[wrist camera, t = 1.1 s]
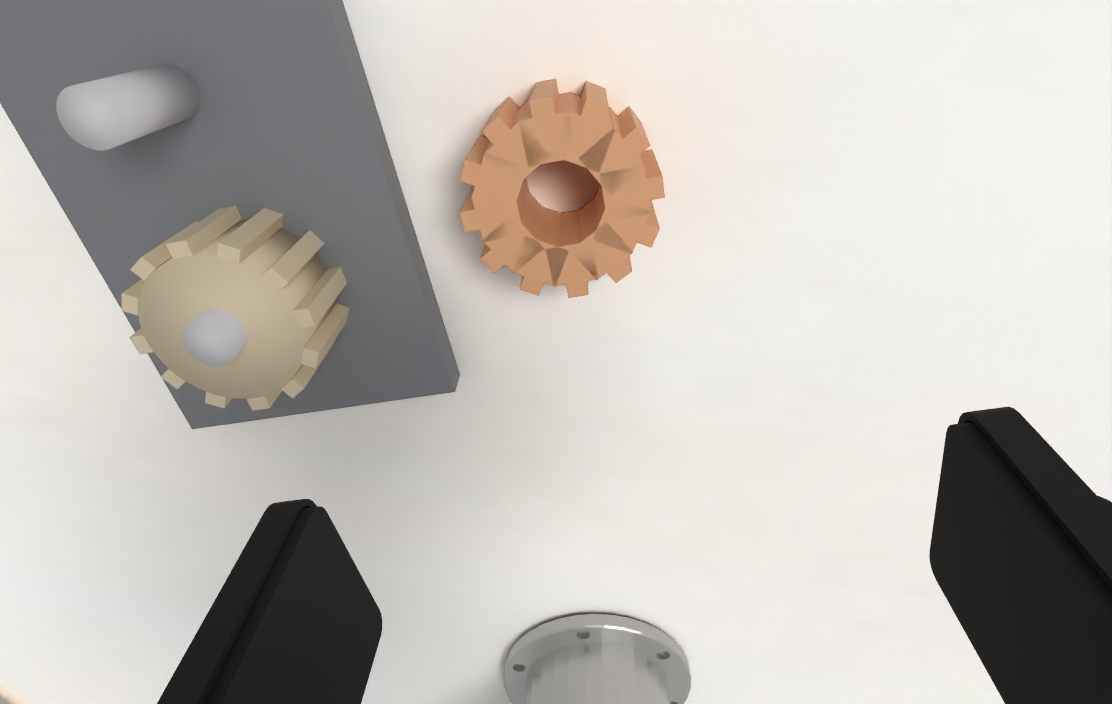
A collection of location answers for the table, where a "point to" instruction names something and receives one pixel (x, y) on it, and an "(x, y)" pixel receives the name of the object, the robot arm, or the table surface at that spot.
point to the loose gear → (548, 236)
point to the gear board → (231, 197)
